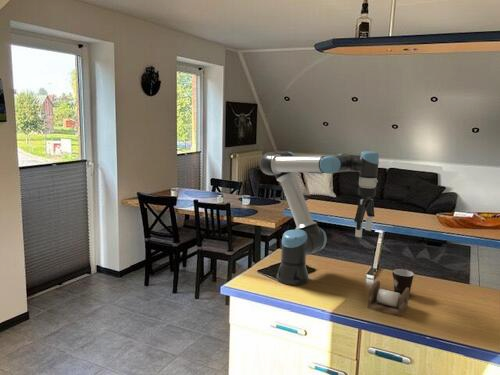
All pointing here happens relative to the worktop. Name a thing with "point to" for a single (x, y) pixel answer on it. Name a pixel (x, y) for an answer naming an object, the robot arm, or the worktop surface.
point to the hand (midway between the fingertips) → (363, 233)
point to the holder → (385, 308)
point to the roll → (388, 298)
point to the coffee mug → (402, 280)
